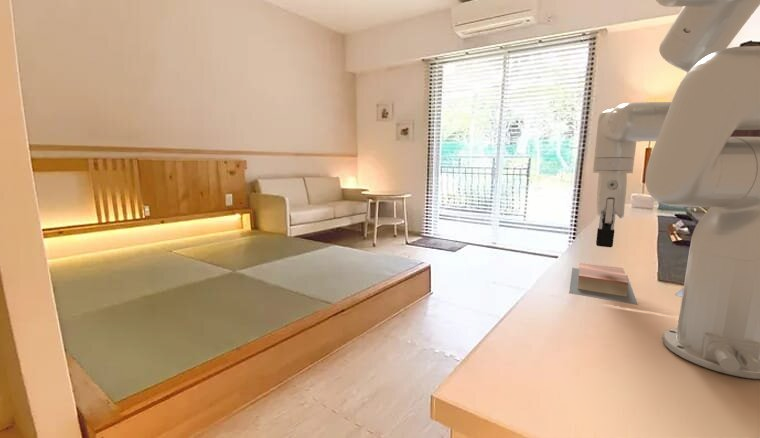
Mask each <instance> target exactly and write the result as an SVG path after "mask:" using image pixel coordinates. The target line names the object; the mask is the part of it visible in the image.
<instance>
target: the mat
mask: <svg viewBox="0 0 760 438" xmlns="http://www.w3.org/2000/svg"><path fill="white" fill-rule="evenodd" d="M578 274H579V267H578V268H577V267H576V268H575V267H572V268H571V276H570V283H569V291H568V294H572V295H577V296H585V297H589V298H597V299H601V300H602V299H603V300H607V301H615V302H620V303H627V304H632V305H639V304H638V301H637V299H636V296H635V293H634V290H633V288H632V285H631V282H630V279H629V277H628V275H627V274H625V275H626V278H627V280H628V290H627V297H626V296H620V295H614V294H608V293H601V292H595V291H589V290H583V289H578Z"/></svg>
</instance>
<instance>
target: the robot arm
mask: <svg viewBox="0 0 760 438" xmlns="http://www.w3.org/2000/svg"><path fill="white" fill-rule="evenodd" d="M656 2H657V3H658V4H659V5H660V6H662V7H667V8H668V7H669V8H670V7H671V8H673V7H674V8H675V7H676V8H677V7H680V8H681V7H682V8H681V10H680V11H679V13H678V14H677V16H676V18H675V20H674V21H673V23H672V25H671V26H670V28H669V29H668V30H667V32H666V34H665V36H664V37H663V39H662V40H661V43H660V44H659V49H658V50H659V54H660V56H661V58H663V60H665V62H667V63H668V64H670V65H671V66H674V68H677V69H678V70H679V69H680V70H681V71H684V72H686V74H685V75H684V77H683V78H682V80H681V81H680V83H679V85H678V86H677V88H676V91H675V94H674V95H673V98H672V99H671V101H650V102H649V101H647V102H645V101H643V102H640V101H639V102H625V103H621V104H619V105H617V106H616V107H614V108H611V109H606V110H604V111H602V112H601V113H599V116H598V119H597V126H596V127H597V129H596V136H595V137H596V138H595V146H594V147H595V148H594V159H593V168H592V173H594V174H595V173H596V174H597V173H598V177H597V179H598V180H597V188H596V189H597V190H596V214H597V216H598V217H599V220H598V221H599V223H598V228H597V233H596V240H595V243H596V246H597V247H602V248H613V246H614V237H615V224H616V223H615V222H616V221H615V220H616V216H617V217H618V218H619V219H623V218H624V217H625V207H626V205H625V204H626V197H627V196H626V195H627V194H626V193H627V186H628V184H627V182H628V176H627V175H628V174H633V172H634V166H635V157H636V148H637V142H655V144H654V145H653V147H652V151H651V154H650V156H649V159H648V162H647V166H646V170H645V178H644V180H645V186H646V190H647V193H648V194H649V195H650V197H651V198H652V199H653V200H654V201H656V202H658V203H660V204H661V205H662V204H663V205H667V206H672V207H682V208H683V207H684V208H685V207H688V208H709V209H708V210H707V211H706V212H705V214H704V215H703V216H701V219H700V220H699V221H698V223H696V226H695V227H694V230H693V232H692V234H691V239H690V246H689V250H688V257H687V263H686V268H685V269H686V270H685V278H684V281H683V283H684V284H683V287H684V289H683V295H682V297H681V302H680V309H679V317H678V322H677V327H675V328H670V329H667V330H665V331H664V332H663V335H662V342H663V344H664V345H665V347H666V348H667V349H668V350H670V352H672V353H674V354H676V355H677V356H679V357H680V358H683V359H685V360H686V361H689V362H691V363H693V364H696V365H697V366H700V367H702V368H706V369H709V370H711V371H715V372H718V373H722V374H726V375H730V376H735V377H738V378H739V377H740V378H744V379H754V380H755V379H756V380H760V136H732V134H733V133H734V132H735V131H748V130H749V131H756V130H757V131H758V130H760V45H754V46H753V45H751V46H750V45H749V46H748V45H747V46H746V45H745V46H744V45H743V46H734V47H732V46H731V47H729V45H730V44H731V43H732V41H733V40H734V39H735V37H737V35H738V34H739V33H740V31H741V29H743V27H744V26H745V24H746V23H747V22H748V21H749V19H750V18H751V17H752V15H753V14H754V13H755V11H756V10H757V9H758V8H759V6H760V0H656Z"/></svg>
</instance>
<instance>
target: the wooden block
mask: <svg viewBox="0 0 760 438" xmlns="http://www.w3.org/2000/svg"><path fill="white" fill-rule="evenodd" d="M578 269H579V274H578V289H583V290H589V291H595V292H601V293H608V294H614V295H620V296H626V297H627V290H628V280H627V278H626V275H627V274H626V273H625V270H624V268H623V267H618V266H610V265H609V266H608V265H602V264H594V263H588V262H587V263H586V262H579V266H578Z"/></svg>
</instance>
